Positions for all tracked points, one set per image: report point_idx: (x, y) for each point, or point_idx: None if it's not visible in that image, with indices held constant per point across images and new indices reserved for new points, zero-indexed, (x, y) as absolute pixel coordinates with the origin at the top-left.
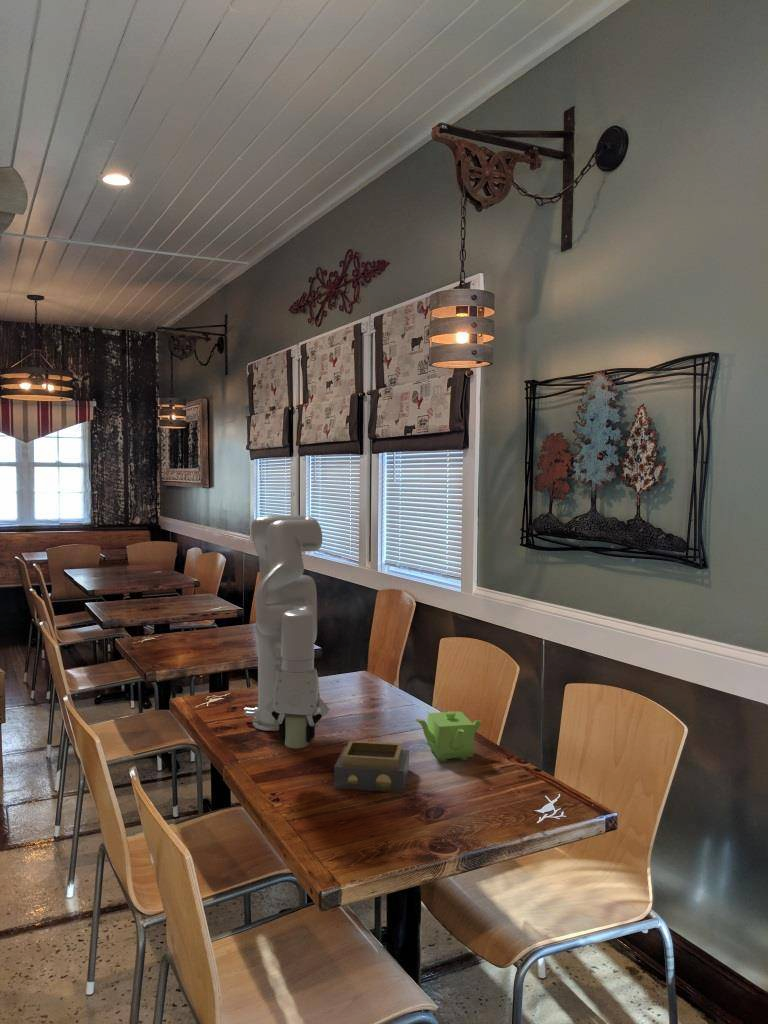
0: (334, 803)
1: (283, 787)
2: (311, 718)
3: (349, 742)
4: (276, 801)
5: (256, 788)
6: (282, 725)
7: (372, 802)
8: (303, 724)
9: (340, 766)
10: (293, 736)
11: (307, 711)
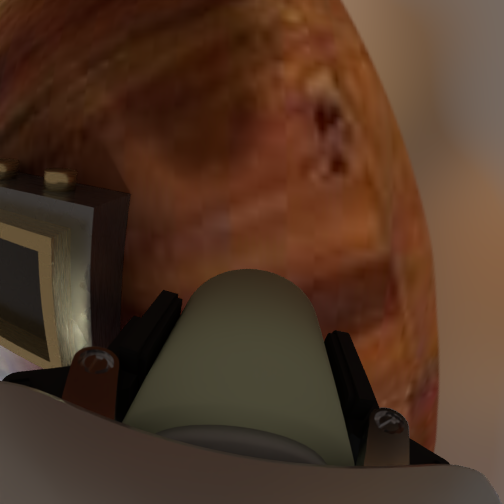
0: (131, 84)
1: (303, 213)
2: (72, 392)
3: (59, 364)
4: (325, 104)
5: (391, 216)
6: (363, 395)
7: (41, 104)
8: (166, 366)
9: (73, 211)
10: (269, 303)
11: (31, 430)
